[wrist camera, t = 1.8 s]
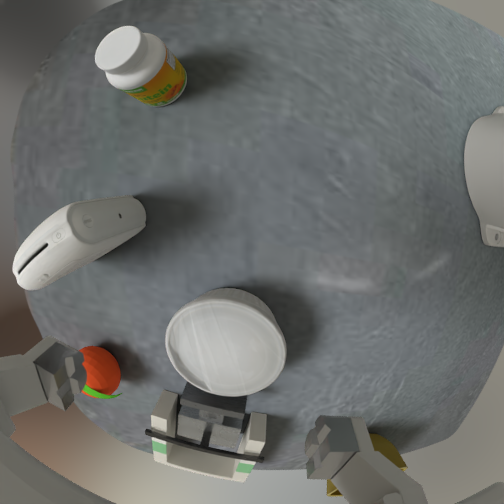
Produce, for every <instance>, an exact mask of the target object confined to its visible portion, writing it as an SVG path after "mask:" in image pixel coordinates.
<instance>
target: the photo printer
mask: <svg viewBox="0 0 504 504" xmlns="http://www.w3.org/2000/svg"><path fill="white" fill-rule="evenodd" d="M145 221H146V212H145V209H144V207H143V205H142V204H141V203H140V202H139V201H138V200H137V199H134V198H133V196H131V195H125V196H116V197H107V198H99V199H92V200H85V201H79V202H74V203H72V204H69V205H67V206H65V207H63V208H61V209H60V210H58V211H57V212H55V213H54V214H52V215H51V216H50V217H49V218H47V219H46V220H45V221H44V222H42V223H41V224H40V225H39V226H38V227H37V228H36V229H35V230H34V231H33V232H32V233H31V234H30V235H29V236H28V237H27V239H26V240H25V241H24V242H23V244H22V245H21V247H20V248H19V250H18V252H17V254H16V256H15V259H14V263H13V273H14V274H15V276H16V278H17V283H18V284H19V285H20V286H21V287H22V288H24V289H27V290H38V289H41V288H43V287H45V286H47V285H49V284H50V283H52V282H54V281H55V280H57V279H59V278H61V277H63V276H65V275H67V274H68V273H70V272H72V271H74V270H76V269H78V268H80V267H82V266H84V265H86V264H88V263H90V262H93V261H94V260H96V259H98V258H100V257H101V256H103V255H105V254H106V253H108V252H109V251H111V250H113V249H114V248H116V247H117V246H119V245H121V244H122V243H124V242H125V241H127V240H128V239H130V238H131V237H133V236H134V235H136V234H137V233H139V232H140V231H141V230H142V229H143V228H144V227H145V226H146V224H145Z"/></svg>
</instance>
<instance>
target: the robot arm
mask: <svg viewBox="0 0 504 504" xmlns="http://www.w3.org/2000/svg"><path fill="white" fill-rule="evenodd" d="M464 168H465V177H466V183H467V188H468V192H469V196H470V199H471V202H472V204H473V207H474V209H475V211H476V213H477V215H478V217H479V220H480V227H481V235H482V240H483V243H484V244H485V245H488V246H496V247H504V106H500V107H497V108H496V109H495V110H494V112H493V113H492V114H491V115H487V116H482V117H480V118H478V119H477V120H476V121H475V122H474V123H473V124H472V126H471V128H470V130H469V132H468V135H467V139H466V144H465V152H464ZM84 361H85V360H84V355H83V353H82V352H80V351H78V350H76V349H74V348H73V347H71V346H69V345H67V344H65V343H63V342H62V341H59V340H58V339H56V338H54V337H52V336H47V337H46V338H44V339H43V340H42V341H41V342H39V343H38V344H37V345H36V346H35V347H33V348H32V349H31V350H29V351H28V352H27V353H26V354H25V355H23V356H22V355H21V354H19V355H13V356H7V357H1V358H0V504H115V503H113V502H111V501H109V500H106V499H104V498H102V497H100V496H98V495H96V494H94V493H92V492H90V491H88V490H86V489H84V488H82V487H81V486H79V485H77V484H75V483H73V482H72V481H70V480H68V479H67V478H65V477H63V476H62V475H60V474H58V473H57V472H55V471H54V470H52V469H51V468H49V467H48V466H46V465H45V464H43V463H42V462H40V461H39V460H37V459H36V458H35V457H33V456H32V455H31V454H29V453H28V452H27V451H25V450H24V449H23V448H21V447H20V446H19V445H18V444H17V443H15V442H14V441H13V440H12V439H10V438H9V437H10V436H11V435H12V434H13V432H14V431H15V430H16V429H15V425H14V423H13V422H12V420H11V418H10V416H13V415H16V414H18V413H21V412H24V411H26V410H29V409H32V408H34V407H37V406H39V405H42V404H44V403H47V401H48V402H50V403H52V404H54V405H55V406H57V407H59V408H61V409H62V410H64V411H66V410H67V409H68V407H69V406H70V405H71V404H72V402H73V401H74V394H78V393H80V392H81V391H82V390H83V389H84V387H85V384H86V381H87V372H86V369H85V368H84V366H83V365H82V363H83V362H84ZM315 425H316V427H315V428H313V429H311V430H310V431H309V433H308V435H307V438H306V441H305V454H306V455H307V456H308V457H309V458H310V459H309V461H308V462H307V463H306V468H307V478H308V479H331V481H332V483H333V484H334V485H335V486H336V488H337V489H338V490H339V491H340V493H341V494H342V495H343V496H344V498H345V499H346V500H347V501H348V502H349V504H428V502H427V499H426V497H425V494H424V491H423V488H422V486H421V485H420V484H419V483H417V482H416V481H415V480H414V479H412V478H411V477H410V476H408V475H407V474H406V473H405V472H403V471H402V470H401V469H399V468H398V467H397V466H396V465H395V464H393V463H392V462H391V461H390V460H388V459H387V458H386V457H385V456H384V455H382V454H381V453H380V452H379V451H374V448H373V445H372V442H371V439H370V436H369V433H368V430H367V427H366V424H365V421H364V419H363V418H362V417H347V416H325V415H320V416H319V417H318V418H317V420H316V421H315ZM455 504H504V483H503V482H497V483H495V484H493V485H491V486H489V487H487V488H485V489H483V490H482V491H480V492H478V493H476V494H474V495H472V496H470V497H468V498H466V499H464V500H462V501H460V502H457V503H455Z"/></svg>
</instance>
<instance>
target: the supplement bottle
mask: <svg viewBox="0 0 504 504" xmlns="http://www.w3.org/2000/svg"><path fill="white" fill-rule="evenodd" d="M95 61H96V64H97V66H98V67H99V68H100V69H102V70H104V71H105V72H106V77H107V79H108V81H109V82H110V83H111V84H112V85H113V86H115V87H116V88H118V89H120V90H122V91H123V92H125V93H127V94H129V95H131V96H132V97H134V98H136V99H138V100H139V101H141V102H143V103H145V104H147V105H149V106H152V107H161V106H165V105H168V104H170V103H172V102H173V101H175V100H176V99H177V98H178V97H179V96H180V95H181V94H182V92H183V91H184V89H185V87H186V83H187V74H186V71H185V69H184V67H183V66H182V65H181V63H180V62H179V61H178V60H177V59H176V57H175V56H174V55H173V54H172V53H171V51H170V50H169V49H168V48H167V47H166V45H165V44H164V43H163V42H162V41H161V40H160V39H159V38H158V37H156V36H155V35H152V34H148V33H142V32H141V31H140V30H139V29H138V28H136V27H133V26H124V27H120V28H118V29H116V30H114V31H112V32H111V33H109V34H108V35H107V36H106V37H105V38H104V39H103V40H102V42H101V43H100V44H99V46H98V48H97V51H96V54H95Z"/></svg>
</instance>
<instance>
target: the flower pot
mask: <svg viewBox="0 0 504 504" xmlns="http://www.w3.org/2000/svg"><path fill="white" fill-rule="evenodd" d="M369 436H370V439H371V442H372V445H373V448H374V451H379V452H380V453H381V454H382V455H384V456H385V457H386V458H387V459H388V460H390V461H391V462H392V463H393V464H395V465H396V466H397V467H398V468H399V469H401V470H402V471H403V472H404V471H405V470H406V469H407V468H408V467H407V466H406V464H405V462H404V461H403V459H402V457H401V456H400V454H399V452H398V451H397V449H396V448H395V446H394V445H393V444H392V443H391V442H390V441H388V440H387V439H385V438H384V437H382V436H380V435H378V434H371V433H369ZM327 496H343V495H342V494H341V493H340V491H339V490H338V489H337V488H336V486H335V485H334V484H333V483H332V481H331V479H327Z"/></svg>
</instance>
